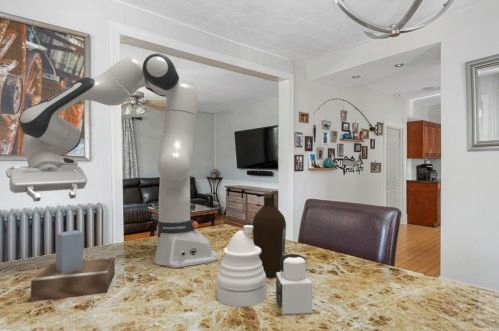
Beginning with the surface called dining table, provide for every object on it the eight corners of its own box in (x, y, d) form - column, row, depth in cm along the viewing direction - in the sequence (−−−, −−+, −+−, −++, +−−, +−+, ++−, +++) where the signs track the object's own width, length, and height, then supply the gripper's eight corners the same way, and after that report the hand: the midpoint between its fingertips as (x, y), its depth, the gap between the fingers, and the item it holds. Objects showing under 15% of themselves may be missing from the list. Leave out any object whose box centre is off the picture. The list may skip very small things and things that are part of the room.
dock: (114, 274, 89) (114, 257, 89) (106, 292, 76) (107, 272, 76) (51, 280, 84) (51, 262, 84) (30, 301, 71) (31, 280, 71)
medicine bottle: (275, 300, 71) (275, 252, 72) (304, 299, 72) (303, 251, 72) (281, 315, 64) (281, 261, 64) (312, 313, 65) (312, 260, 65)
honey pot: (271, 288, 79) (271, 222, 79) (257, 310, 66) (257, 232, 67) (228, 282, 83) (228, 220, 83) (207, 302, 71) (207, 228, 71)
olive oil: (253, 278, 86) (253, 194, 86) (251, 266, 96) (251, 191, 96) (288, 278, 86) (288, 194, 86) (283, 266, 97) (283, 191, 97)
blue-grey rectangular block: (76, 264, 83) (76, 230, 83) (82, 268, 80) (82, 232, 80) (56, 269, 79) (56, 233, 79) (62, 273, 76) (62, 235, 76)
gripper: (6, 159, 85) (14, 194, 78) (81, 160, 100) (93, 189, 94) (3, 174, 88) (10, 209, 81) (77, 172, 103) (88, 201, 97)
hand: (56, 198), depth 88 cm, fingers open, 8 cm apart
